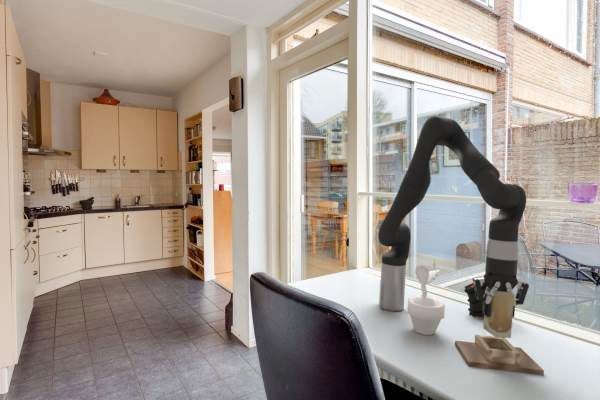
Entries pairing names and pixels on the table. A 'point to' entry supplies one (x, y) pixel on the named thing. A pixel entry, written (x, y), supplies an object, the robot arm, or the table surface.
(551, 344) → the table surface
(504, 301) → the skincare box
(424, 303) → the potted plant
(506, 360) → the socket board
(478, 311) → the magazine
